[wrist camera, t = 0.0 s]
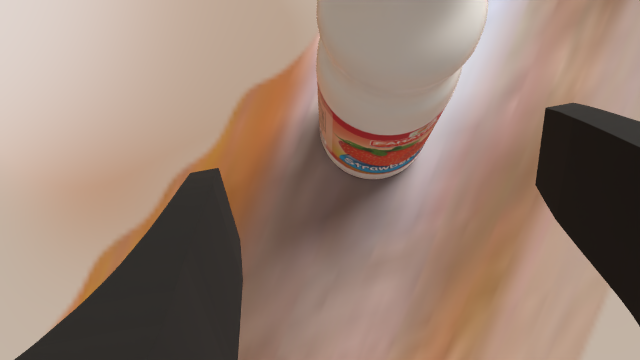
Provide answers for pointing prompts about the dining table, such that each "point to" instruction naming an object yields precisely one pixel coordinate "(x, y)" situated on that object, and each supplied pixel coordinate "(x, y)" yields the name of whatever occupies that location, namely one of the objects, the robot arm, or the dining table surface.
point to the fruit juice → (389, 76)
